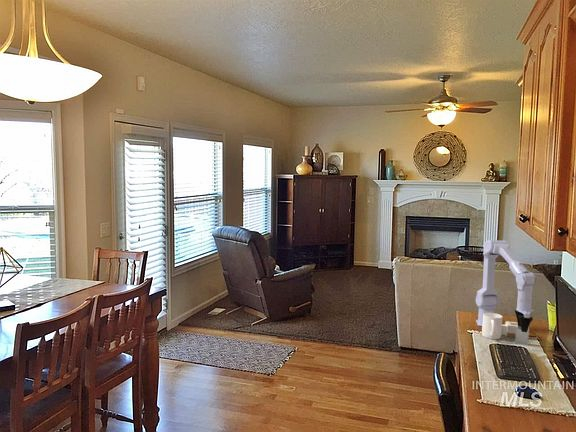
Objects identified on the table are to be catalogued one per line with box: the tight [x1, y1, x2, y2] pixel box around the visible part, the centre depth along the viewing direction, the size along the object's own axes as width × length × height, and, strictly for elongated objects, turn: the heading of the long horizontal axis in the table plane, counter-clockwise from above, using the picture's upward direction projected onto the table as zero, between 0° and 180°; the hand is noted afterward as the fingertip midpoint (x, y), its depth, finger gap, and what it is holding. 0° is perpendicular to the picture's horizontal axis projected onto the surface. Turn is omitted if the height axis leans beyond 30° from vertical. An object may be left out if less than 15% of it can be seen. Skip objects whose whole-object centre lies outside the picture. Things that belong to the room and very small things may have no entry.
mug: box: [481, 312, 503, 340], centre depth 219 cm, size 12×8×10 cm
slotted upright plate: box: [501, 320, 530, 340], centre depth 224 cm, size 7×18×6 cm, turn 74°
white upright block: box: [514, 327, 530, 346], centre depth 213 cm, size 2×5×7 cm, turn 75°
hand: (522, 329), depth 212 cm, fingers open, 7 cm apart
